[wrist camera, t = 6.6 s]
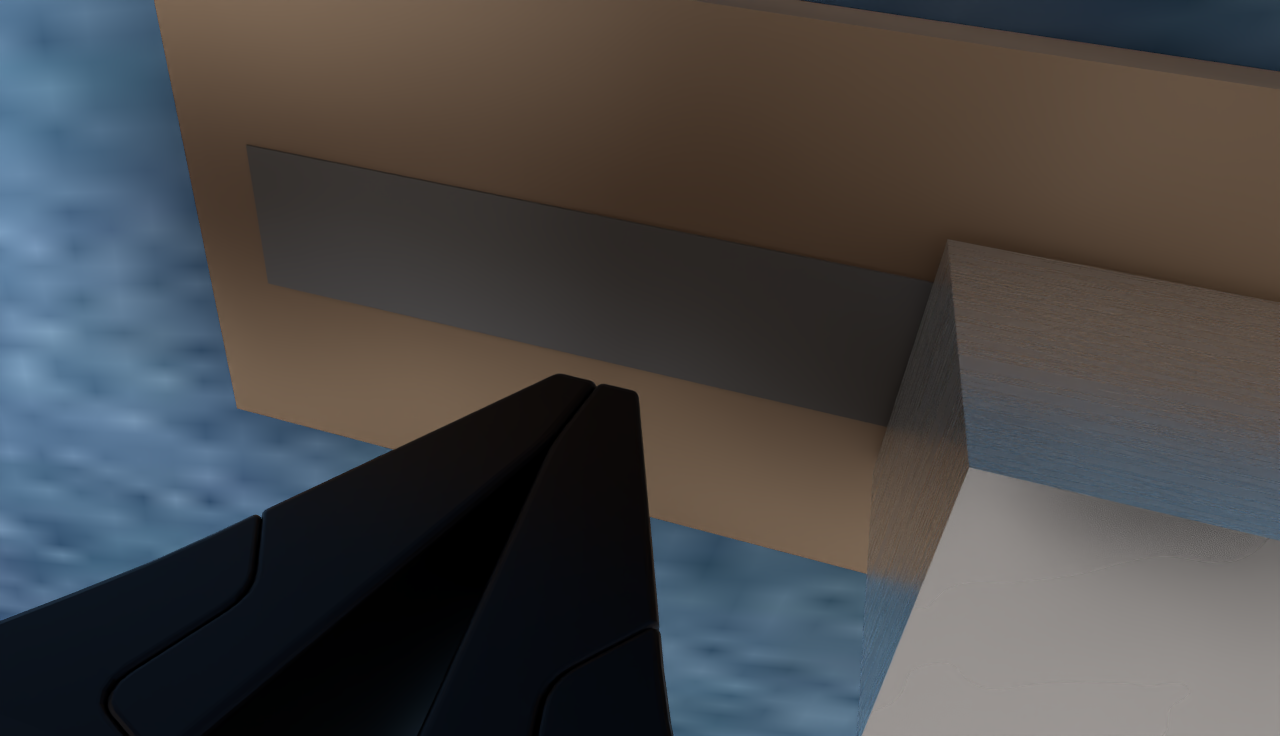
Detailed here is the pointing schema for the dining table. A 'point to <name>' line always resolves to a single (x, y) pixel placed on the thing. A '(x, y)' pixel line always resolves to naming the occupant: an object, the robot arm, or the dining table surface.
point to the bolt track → (677, 214)
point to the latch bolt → (1077, 510)
